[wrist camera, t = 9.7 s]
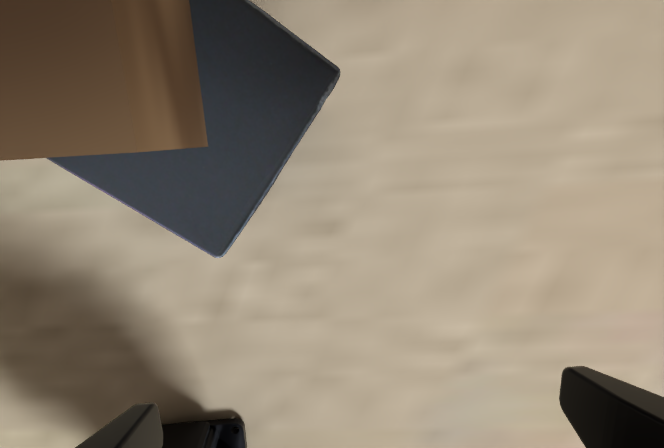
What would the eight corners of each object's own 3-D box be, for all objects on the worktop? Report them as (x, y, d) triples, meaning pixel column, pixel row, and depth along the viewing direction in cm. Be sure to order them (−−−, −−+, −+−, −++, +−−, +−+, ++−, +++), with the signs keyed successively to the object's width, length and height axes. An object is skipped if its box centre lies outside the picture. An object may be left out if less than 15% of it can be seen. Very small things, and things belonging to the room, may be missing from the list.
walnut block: (208, 146, 9) (137, 152, 5) (-3, 158, 9) (-239, 174, 5) (177, -88, 8) (60, -296, 4) (-65, -82, 8) (-430, -299, 4)
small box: (74, 88, 18) (-219, 24, 8) (138, -33, 17) (-102, -283, 7) (260, 205, 20) (214, 273, 10) (326, 102, 19) (352, 59, 9)
